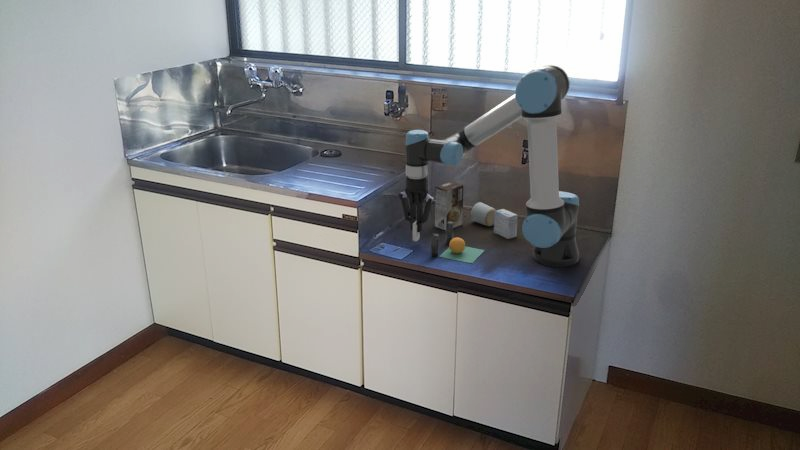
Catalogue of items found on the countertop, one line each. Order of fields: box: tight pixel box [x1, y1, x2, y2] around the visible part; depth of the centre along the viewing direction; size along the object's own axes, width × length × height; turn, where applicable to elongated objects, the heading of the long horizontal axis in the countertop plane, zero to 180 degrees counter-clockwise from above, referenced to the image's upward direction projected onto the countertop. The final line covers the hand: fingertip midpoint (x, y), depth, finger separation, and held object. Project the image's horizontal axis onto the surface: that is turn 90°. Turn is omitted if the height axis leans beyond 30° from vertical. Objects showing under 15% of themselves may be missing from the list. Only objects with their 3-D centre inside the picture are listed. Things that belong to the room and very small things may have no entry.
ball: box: [448, 236, 466, 254], centre depth 233 cm, size 6×6×6 cm
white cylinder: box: [470, 201, 497, 227], centre depth 259 cm, size 11×8×8 cm
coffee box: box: [434, 180, 464, 231], centre depth 255 cm, size 9×6×16 cm
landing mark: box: [438, 245, 486, 264], centre depth 233 cm, size 12×12×1 cm
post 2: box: [445, 221, 454, 246], centre depth 240 cm, size 3×3×8 cm
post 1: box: [430, 232, 440, 259], centre depth 230 cm, size 3×3×8 cm
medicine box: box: [493, 208, 519, 240], centre depth 248 cm, size 8×4×9 cm, turn 34°
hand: (416, 239), depth 240 cm, fingers closed
